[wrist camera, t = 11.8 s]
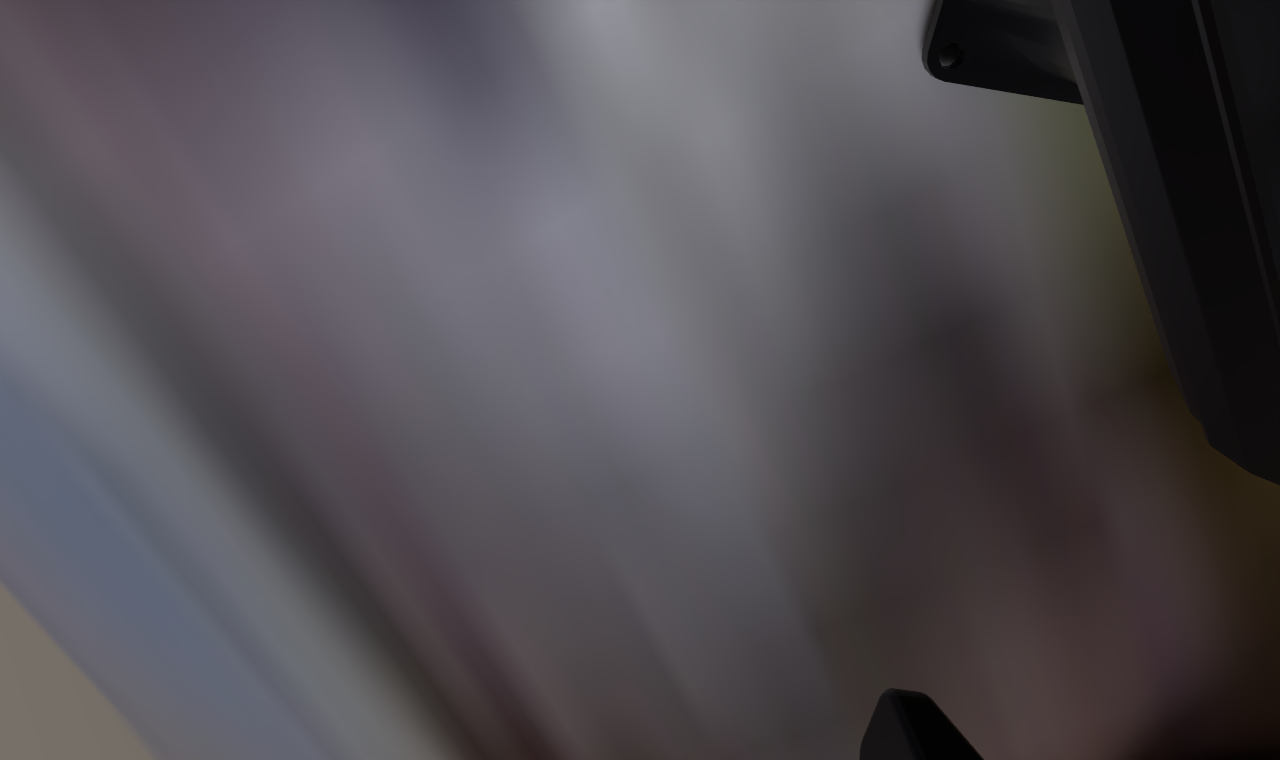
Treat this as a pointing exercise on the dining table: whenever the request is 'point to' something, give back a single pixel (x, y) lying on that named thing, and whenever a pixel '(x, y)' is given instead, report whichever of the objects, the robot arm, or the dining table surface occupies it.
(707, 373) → the dining table surface
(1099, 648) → the dining table surface
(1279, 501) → the dining table surface
